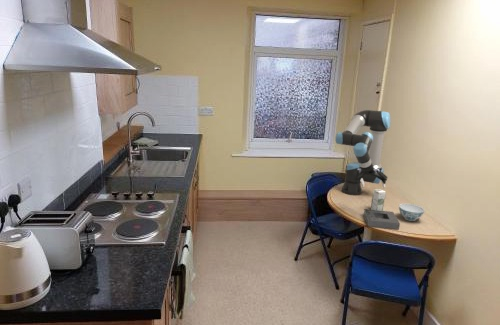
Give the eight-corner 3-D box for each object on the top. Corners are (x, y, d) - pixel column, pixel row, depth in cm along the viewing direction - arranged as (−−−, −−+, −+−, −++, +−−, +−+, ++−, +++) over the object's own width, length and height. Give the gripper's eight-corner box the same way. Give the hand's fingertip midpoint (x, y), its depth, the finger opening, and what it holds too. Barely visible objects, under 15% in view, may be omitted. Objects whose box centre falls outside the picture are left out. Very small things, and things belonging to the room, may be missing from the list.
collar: (363, 214, 227) (364, 208, 226) (392, 217, 224) (393, 211, 223) (367, 226, 210) (368, 220, 209) (398, 229, 207) (399, 223, 206)
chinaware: (401, 212, 234) (402, 201, 232) (425, 218, 225) (427, 207, 223) (394, 218, 222) (395, 207, 220) (418, 226, 213) (421, 214, 211)
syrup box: (376, 208, 239) (379, 188, 235) (382, 211, 233) (386, 191, 230) (370, 209, 237) (373, 189, 233) (376, 212, 231) (379, 192, 228)
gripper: (344, 168, 221) (354, 189, 233) (384, 168, 205) (392, 191, 218) (348, 159, 225) (356, 181, 237) (387, 159, 209) (394, 182, 222)
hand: (373, 186), depth 227 cm, fingers open, 13 cm apart
